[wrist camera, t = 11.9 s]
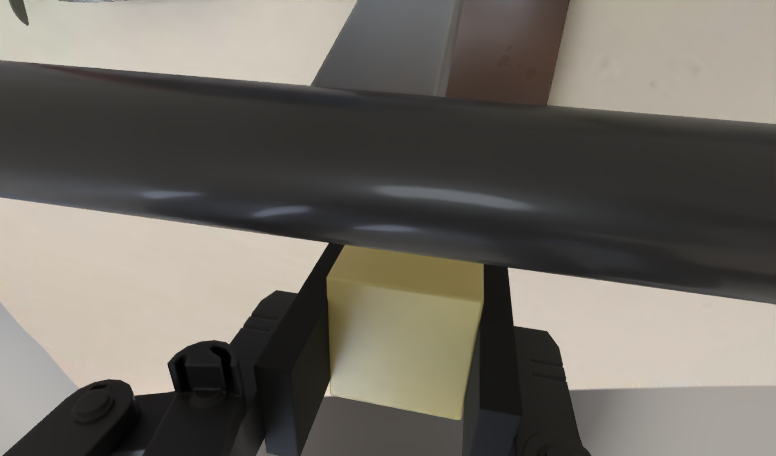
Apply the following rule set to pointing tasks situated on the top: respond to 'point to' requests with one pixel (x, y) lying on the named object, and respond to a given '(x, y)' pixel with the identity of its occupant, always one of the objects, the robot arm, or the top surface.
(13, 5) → the kitchen knife
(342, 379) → the butter
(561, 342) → the top surface
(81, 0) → the egg carton
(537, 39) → the lever base
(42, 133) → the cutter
